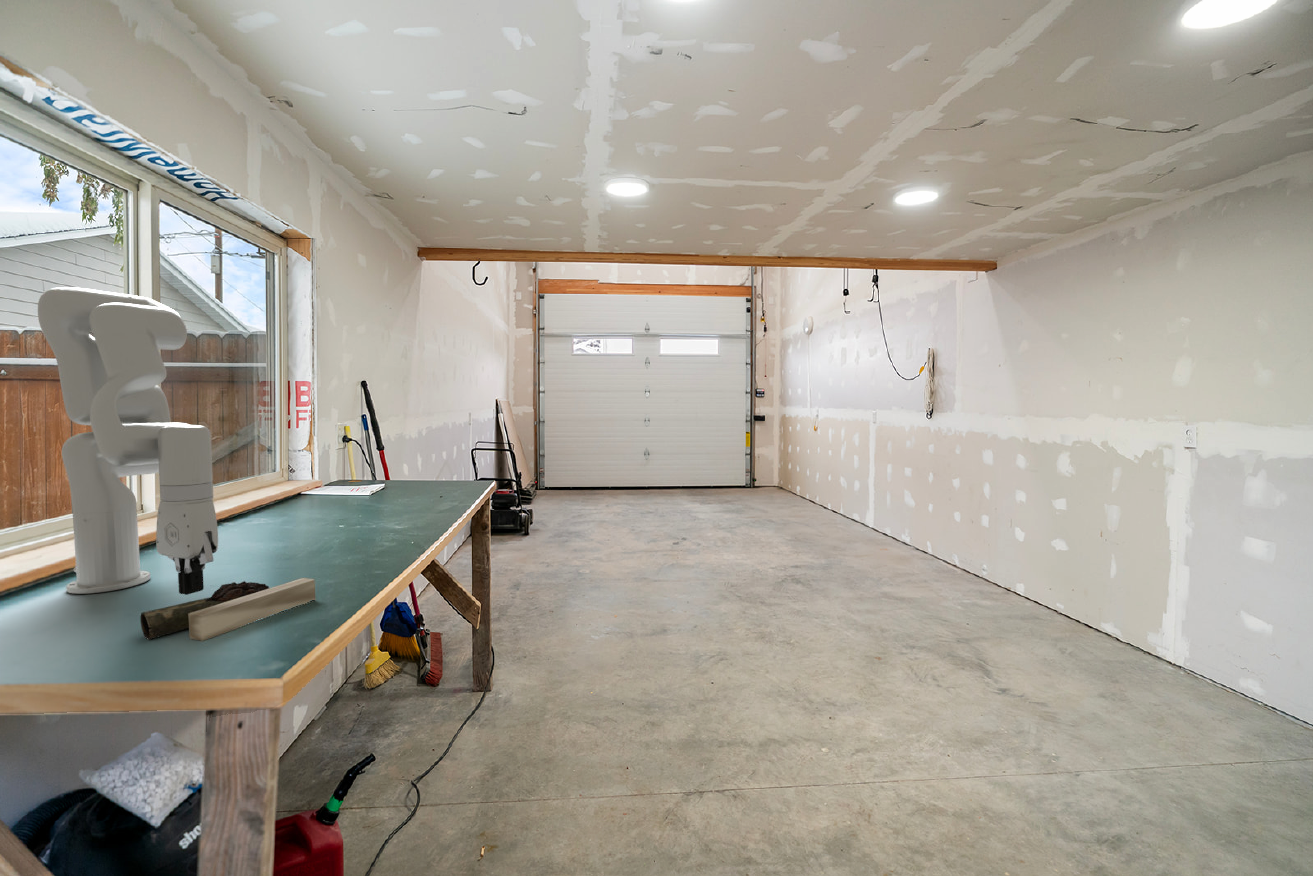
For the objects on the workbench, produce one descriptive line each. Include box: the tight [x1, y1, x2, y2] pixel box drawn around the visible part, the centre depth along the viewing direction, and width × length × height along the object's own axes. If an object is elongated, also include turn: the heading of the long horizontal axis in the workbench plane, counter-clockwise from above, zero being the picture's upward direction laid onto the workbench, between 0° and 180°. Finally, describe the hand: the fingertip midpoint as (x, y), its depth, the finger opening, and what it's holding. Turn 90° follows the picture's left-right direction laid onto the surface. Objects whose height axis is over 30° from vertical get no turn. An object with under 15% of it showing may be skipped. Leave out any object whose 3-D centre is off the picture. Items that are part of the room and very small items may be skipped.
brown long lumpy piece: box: [139, 580, 270, 640], centre depth 100 cm, size 18×7×6 cm, turn 143°
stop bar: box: [188, 577, 316, 642], centre depth 101 cm, size 3×20×4 cm, turn 160°
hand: (191, 591), depth 107 cm, fingers closed
